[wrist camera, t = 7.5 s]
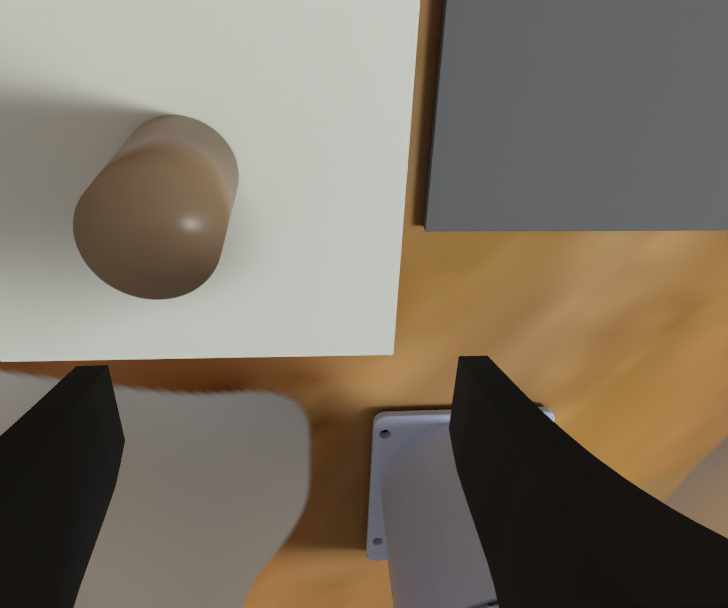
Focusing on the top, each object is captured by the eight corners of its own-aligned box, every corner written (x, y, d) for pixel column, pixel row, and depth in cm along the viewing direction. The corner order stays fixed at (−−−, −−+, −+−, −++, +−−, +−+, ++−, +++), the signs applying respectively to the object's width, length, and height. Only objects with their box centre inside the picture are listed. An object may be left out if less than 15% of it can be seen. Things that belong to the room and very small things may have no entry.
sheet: (391, 345, 21) (411, 442, 17) (7, 352, 19) (-66, 457, 16) (423, -86, 14) (467, -90, 10) (-138, -112, 13) (-318, -127, 9)
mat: (759, 225, 24) (766, 229, 24) (423, 227, 23) (425, 231, 22) (929, -210, 17) (942, -212, 17) (465, -239, 16) (469, -242, 16)
